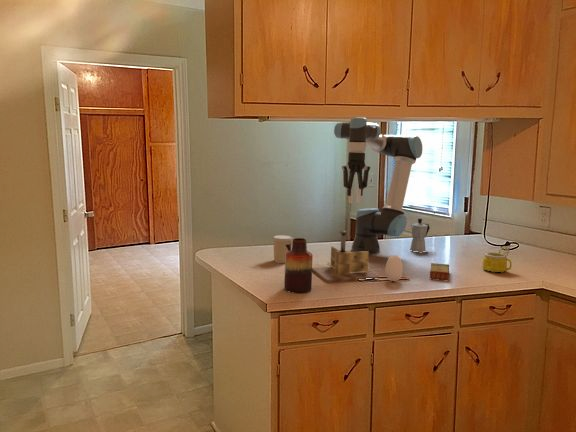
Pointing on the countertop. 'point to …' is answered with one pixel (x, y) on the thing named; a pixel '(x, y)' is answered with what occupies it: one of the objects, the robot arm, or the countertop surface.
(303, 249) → the vase
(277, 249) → the coffee cup
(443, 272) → the carton
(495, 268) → the mug
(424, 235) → the coffee maker
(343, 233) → the hinge pin
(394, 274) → the egg
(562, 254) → the countertop surface
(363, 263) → the hinge mount
